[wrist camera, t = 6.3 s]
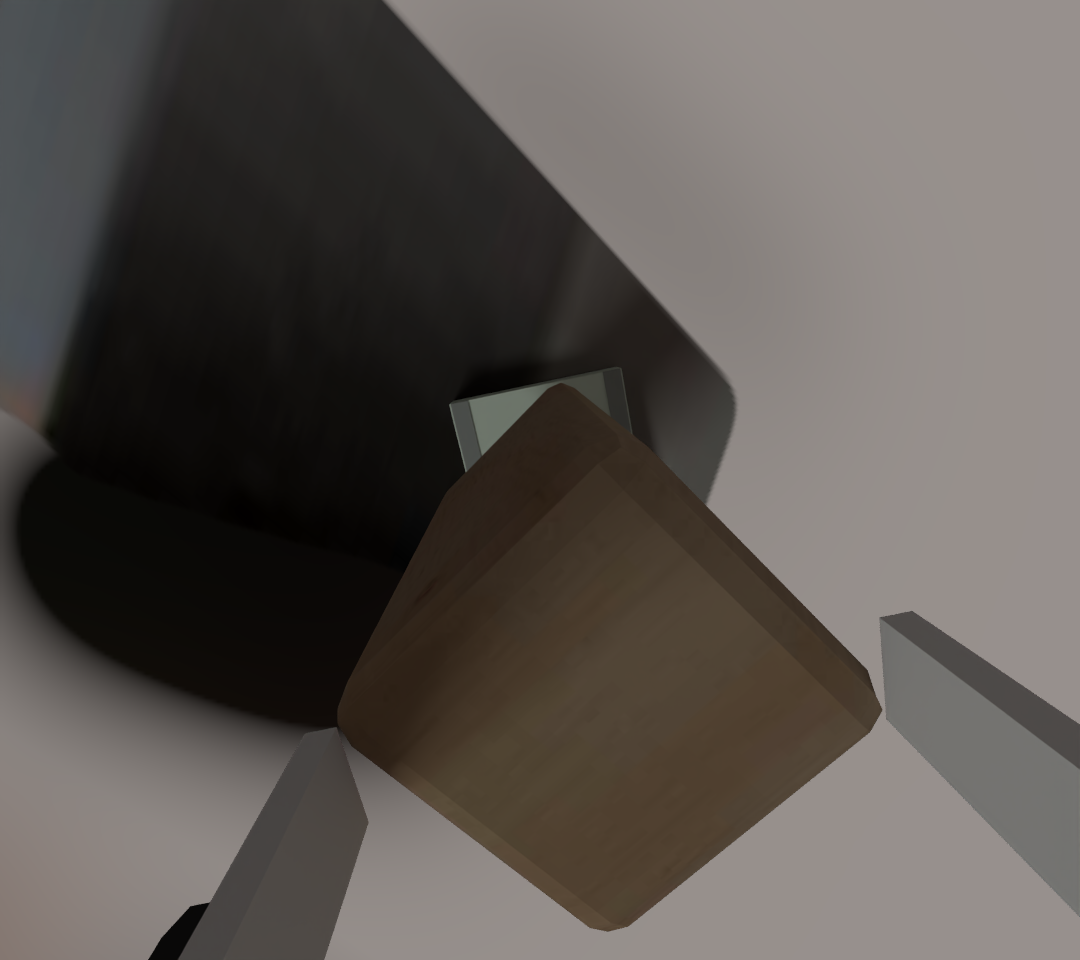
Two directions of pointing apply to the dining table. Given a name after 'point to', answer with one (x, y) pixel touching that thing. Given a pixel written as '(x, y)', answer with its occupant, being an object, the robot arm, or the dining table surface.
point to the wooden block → (597, 669)
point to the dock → (498, 411)
